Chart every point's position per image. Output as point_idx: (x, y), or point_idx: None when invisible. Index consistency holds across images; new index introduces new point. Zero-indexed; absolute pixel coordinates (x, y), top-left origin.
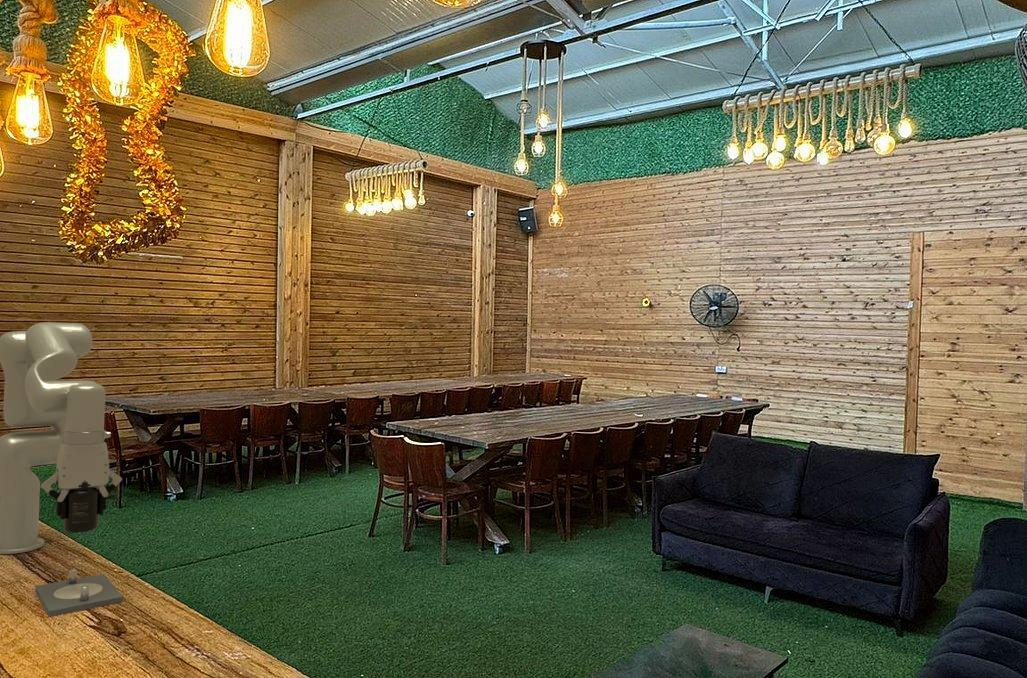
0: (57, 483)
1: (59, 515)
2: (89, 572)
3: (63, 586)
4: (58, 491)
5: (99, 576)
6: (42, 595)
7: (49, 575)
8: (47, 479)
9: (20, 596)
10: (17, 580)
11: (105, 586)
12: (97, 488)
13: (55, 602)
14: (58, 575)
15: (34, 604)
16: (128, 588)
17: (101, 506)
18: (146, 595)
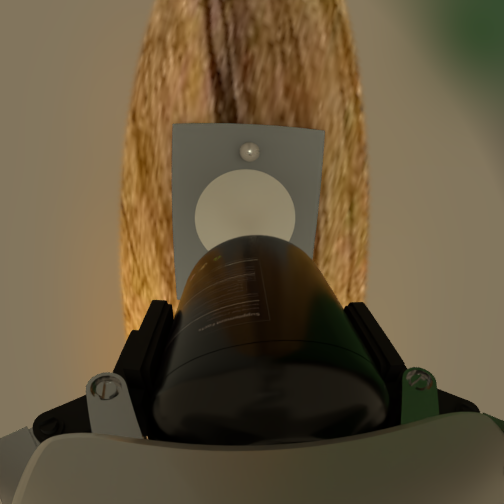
0: (46, 443)
1: (153, 304)
2: (307, 65)
3: (224, 165)
4: (93, 429)
5: (312, 143)
6: (175, 202)
7: (225, 34)
8: (1, 499)
9: (145, 144)
10: (160, 35)
11: (301, 223)
12: (394, 426)
13: (192, 262)
14: (242, 44)
15: (162, 212)
16: (341, 229)
17: None
18: (348, 286)
